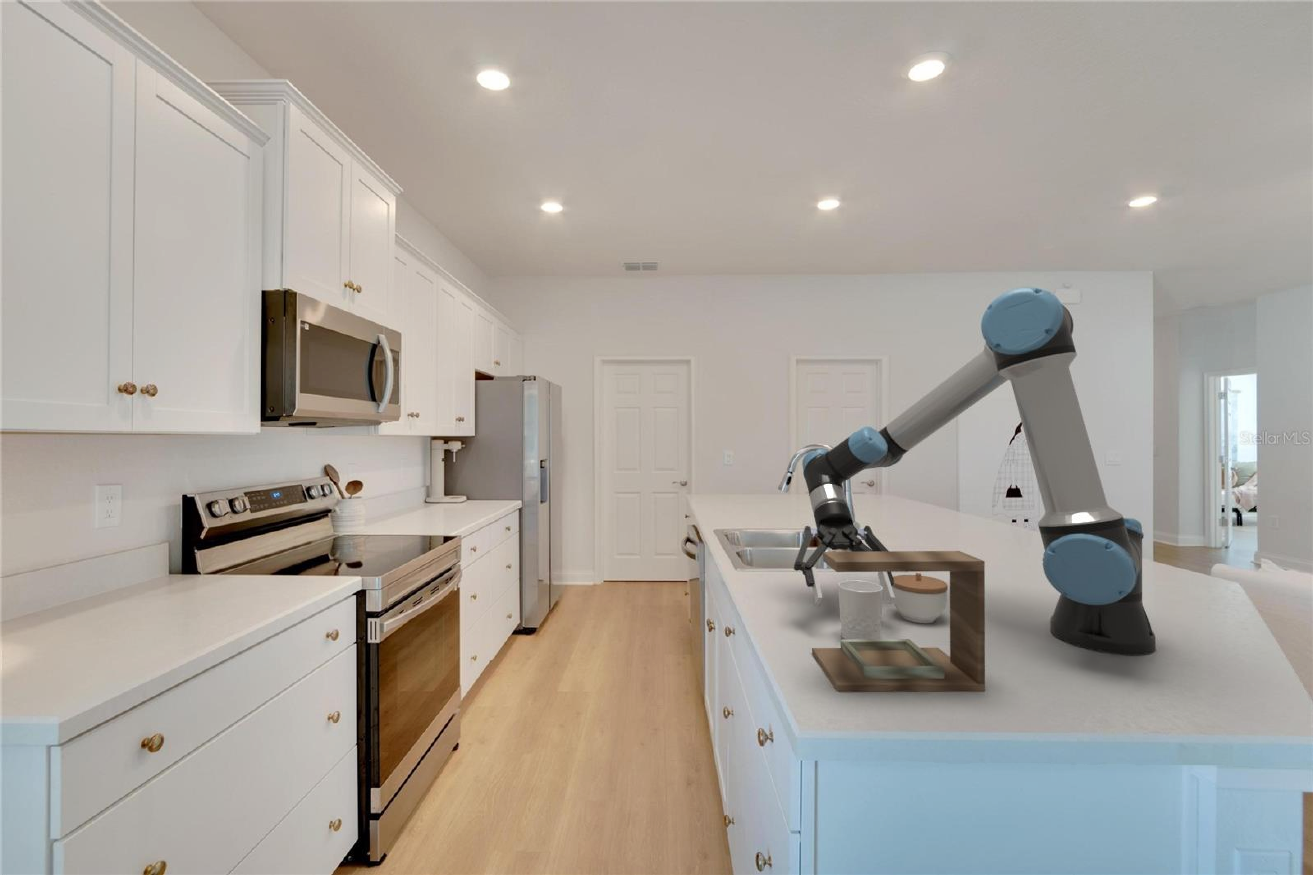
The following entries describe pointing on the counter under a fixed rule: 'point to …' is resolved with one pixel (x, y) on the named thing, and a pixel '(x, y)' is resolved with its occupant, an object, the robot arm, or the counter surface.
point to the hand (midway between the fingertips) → (855, 601)
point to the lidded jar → (919, 597)
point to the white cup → (860, 609)
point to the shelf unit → (901, 658)
